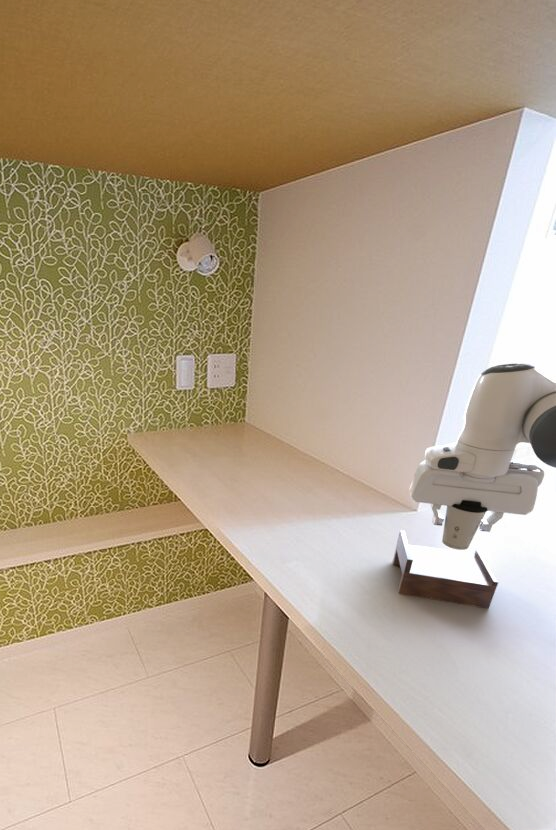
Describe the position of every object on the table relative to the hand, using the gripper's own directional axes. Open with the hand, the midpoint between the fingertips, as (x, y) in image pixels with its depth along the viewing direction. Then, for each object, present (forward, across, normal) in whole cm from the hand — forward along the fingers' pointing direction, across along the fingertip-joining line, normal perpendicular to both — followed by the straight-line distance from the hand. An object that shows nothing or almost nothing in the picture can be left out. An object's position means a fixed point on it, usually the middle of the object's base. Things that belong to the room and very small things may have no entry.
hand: (459, 527), depth 83 cm
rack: (+13, +1, 0) cm, 13 cm away
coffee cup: (+4, 0, 0) cm, 4 cm away
